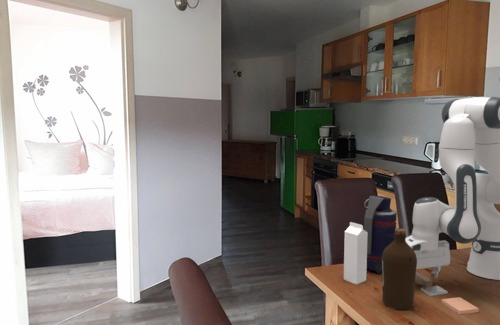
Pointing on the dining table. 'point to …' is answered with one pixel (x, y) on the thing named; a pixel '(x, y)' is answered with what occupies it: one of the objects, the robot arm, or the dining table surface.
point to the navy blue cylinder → (378, 229)
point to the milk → (355, 254)
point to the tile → (460, 305)
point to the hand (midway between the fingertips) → (423, 278)
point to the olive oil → (399, 273)
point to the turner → (428, 285)
